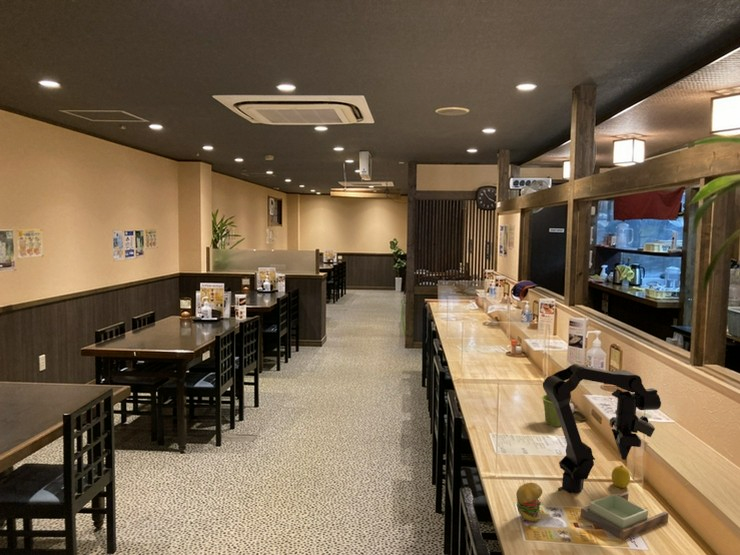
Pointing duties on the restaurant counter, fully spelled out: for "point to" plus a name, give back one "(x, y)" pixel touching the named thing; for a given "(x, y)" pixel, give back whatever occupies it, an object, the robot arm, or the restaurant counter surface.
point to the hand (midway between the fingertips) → (622, 456)
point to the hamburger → (529, 501)
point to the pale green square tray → (618, 510)
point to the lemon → (620, 477)
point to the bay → (626, 531)
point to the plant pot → (550, 412)
